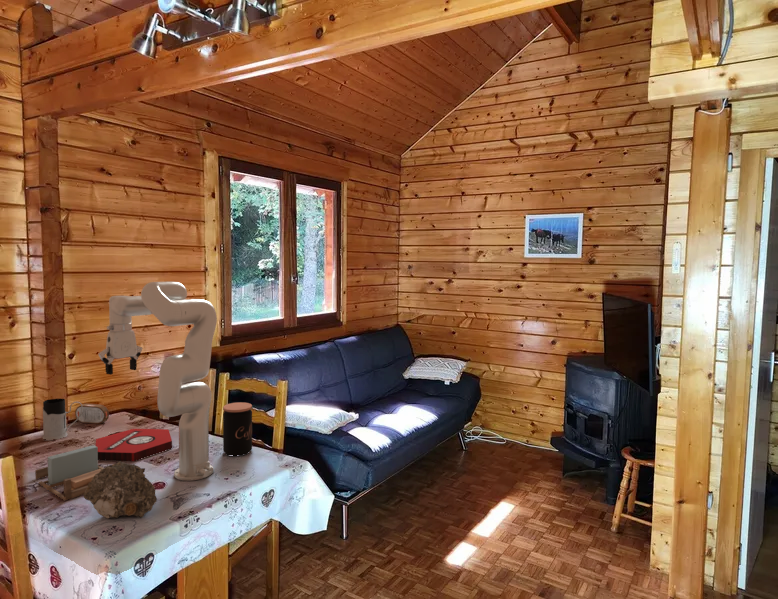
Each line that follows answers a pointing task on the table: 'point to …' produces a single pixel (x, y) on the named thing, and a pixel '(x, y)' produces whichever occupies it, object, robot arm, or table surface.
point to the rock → (121, 491)
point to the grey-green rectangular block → (72, 464)
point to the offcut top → (83, 479)
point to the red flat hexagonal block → (133, 444)
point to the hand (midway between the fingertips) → (121, 371)
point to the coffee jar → (237, 428)
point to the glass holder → (55, 419)
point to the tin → (92, 413)
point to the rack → (67, 484)
